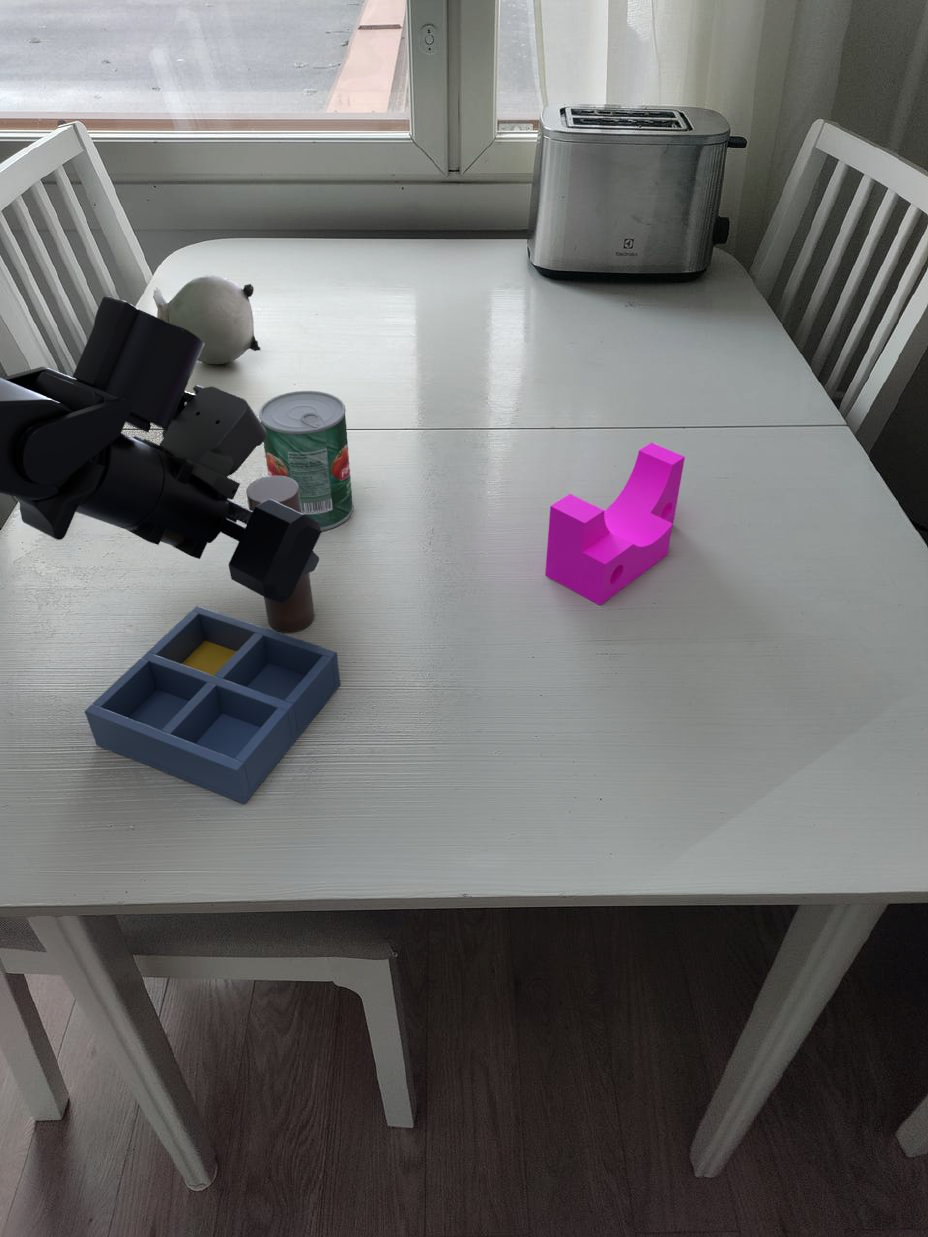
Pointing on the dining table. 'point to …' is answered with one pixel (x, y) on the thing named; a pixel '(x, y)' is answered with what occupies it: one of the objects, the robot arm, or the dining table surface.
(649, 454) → the toy block
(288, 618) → the brown wooden dowel
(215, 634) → the grid
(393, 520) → the dining table surface
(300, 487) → the canned tomato
